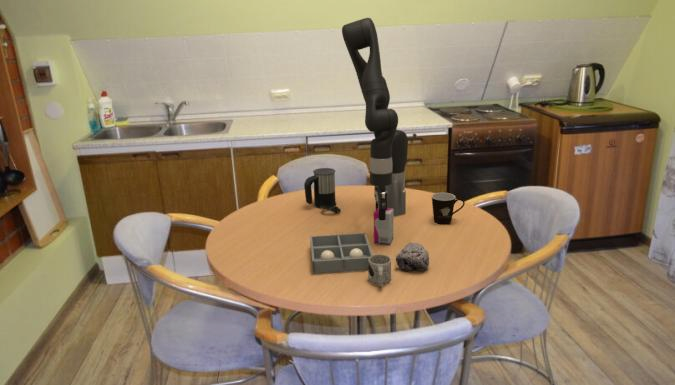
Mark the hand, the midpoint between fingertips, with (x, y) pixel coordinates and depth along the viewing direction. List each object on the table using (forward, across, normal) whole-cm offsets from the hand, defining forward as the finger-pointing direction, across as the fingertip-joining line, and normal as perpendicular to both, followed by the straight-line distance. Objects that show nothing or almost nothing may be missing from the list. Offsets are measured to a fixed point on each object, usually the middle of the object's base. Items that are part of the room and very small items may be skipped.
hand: (380, 215), depth 176 cm
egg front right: (+9, -16, +19) cm, 26 cm away
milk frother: (+10, +34, +17) cm, 39 cm away
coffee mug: (+9, +14, -27) cm, 32 cm away
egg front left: (+9, -16, +10) cm, 21 cm away
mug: (+10, -28, +4) cm, 30 cm away
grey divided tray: (+10, -12, +14) cm, 21 cm away
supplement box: (+10, 0, -1) cm, 10 cm away
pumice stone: (+10, -20, -7) cm, 23 cm away
